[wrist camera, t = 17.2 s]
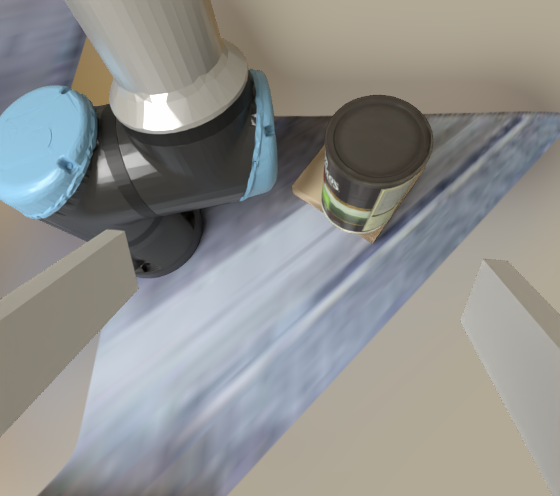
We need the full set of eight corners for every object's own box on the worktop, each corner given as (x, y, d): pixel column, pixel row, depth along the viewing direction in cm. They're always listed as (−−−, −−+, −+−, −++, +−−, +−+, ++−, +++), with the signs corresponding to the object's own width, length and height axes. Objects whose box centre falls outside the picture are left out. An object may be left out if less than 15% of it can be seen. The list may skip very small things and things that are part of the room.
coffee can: (322, 237, 43) (328, 188, 29) (318, 170, 46) (321, 98, 32) (400, 233, 42) (442, 181, 28) (390, 165, 45) (424, 89, 32)
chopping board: (293, 193, 48) (292, 185, 45) (340, 132, 50) (342, 122, 48) (372, 243, 44) (376, 237, 42) (419, 175, 47) (425, 166, 44)
